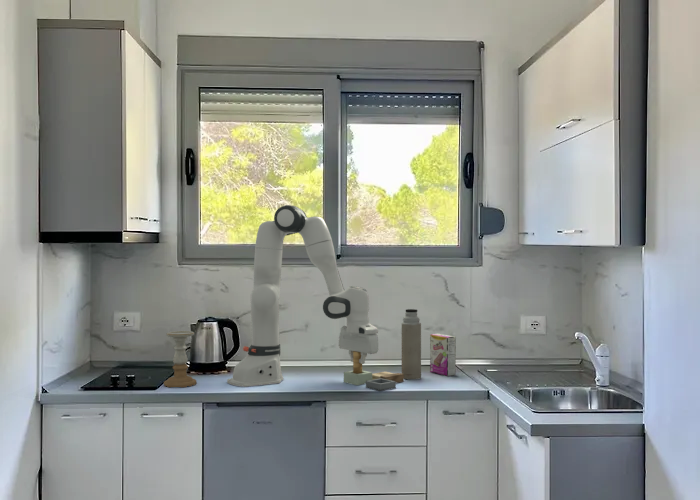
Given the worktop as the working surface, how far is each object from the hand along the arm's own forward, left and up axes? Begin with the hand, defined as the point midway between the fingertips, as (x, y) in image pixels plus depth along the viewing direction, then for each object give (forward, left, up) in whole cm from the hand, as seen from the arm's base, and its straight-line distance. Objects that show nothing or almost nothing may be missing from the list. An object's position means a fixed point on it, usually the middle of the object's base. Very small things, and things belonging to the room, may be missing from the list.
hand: (357, 362), depth 244 cm
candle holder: (-55, +42, -8) cm, 70 cm away
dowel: (0, 0, -8) cm, 8 cm away
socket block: (0, 0, -8) cm, 8 cm away
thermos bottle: (+23, -7, -8) cm, 25 cm away
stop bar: (+10, -9, -8) cm, 16 cm away
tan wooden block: (+10, -4, -8) cm, 14 cm away
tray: (0, -13, -8) cm, 15 cm away
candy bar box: (+39, -10, -8) cm, 41 cm away
